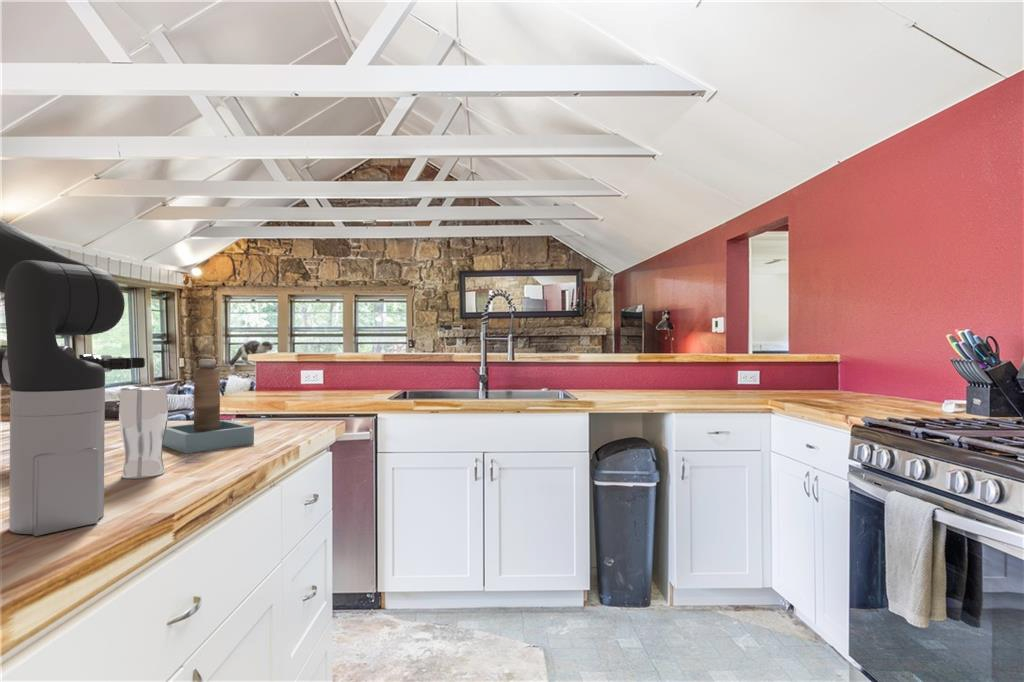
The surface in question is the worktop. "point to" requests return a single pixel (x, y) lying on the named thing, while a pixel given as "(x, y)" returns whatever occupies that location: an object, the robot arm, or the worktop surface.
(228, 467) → the worktop surface
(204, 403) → the pepper mill
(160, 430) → the beer glass
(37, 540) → the worktop surface
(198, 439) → the tray
